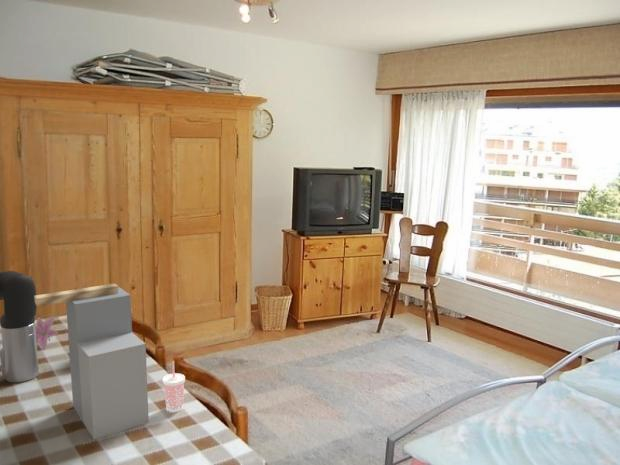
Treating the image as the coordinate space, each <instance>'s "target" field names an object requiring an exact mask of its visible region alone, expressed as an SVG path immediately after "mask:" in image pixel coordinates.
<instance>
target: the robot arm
mask: <svg viewBox="0 0 620 465" xmlns="http://www.w3.org/2000/svg"><path fill="white" fill-rule="evenodd" d="M35 295H37V288H36V285H35V281H34V280H33V279H32V278H31V277H30V276H28V275H27V274H24V273H22V272H19V271H14V270H7V271H0V301H1V300H2V301H3V310H4V312H3V314H2V315H1V316H0V332H1V343H2V348H1V349H0V365H1V376H2V380H6V381H7V382H9V383H22V382H27V381H30V380H33V379H36V378H37V377H38V376H39V374H40V372H39V371H40V370H39V358H38V357H39V356H38V343H37V342H36V330H35V326H36V320H35V318H36V317H35V316H36V314H37V307H38V306H37V305H36V304H35V298H34V296H35Z"/></svg>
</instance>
